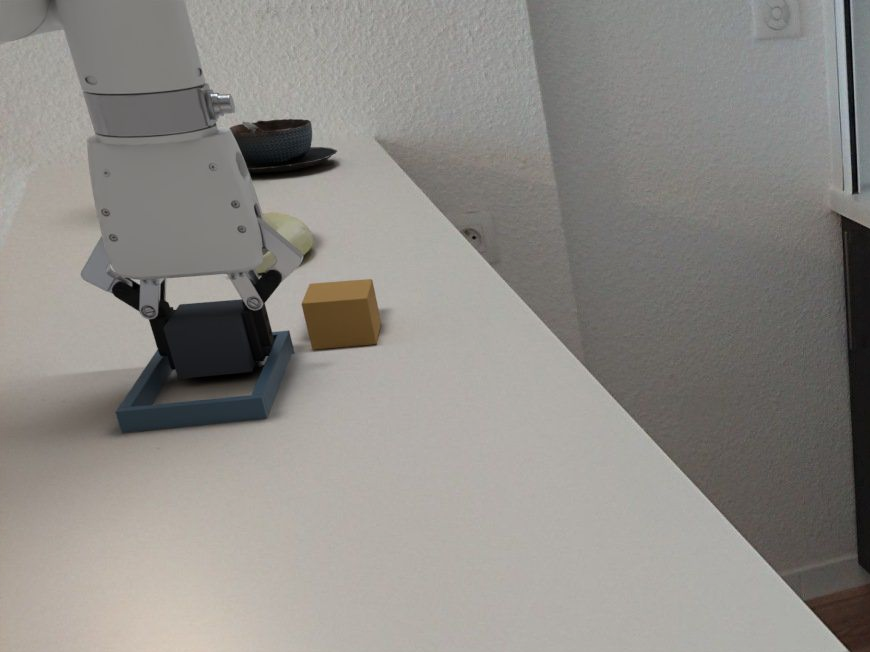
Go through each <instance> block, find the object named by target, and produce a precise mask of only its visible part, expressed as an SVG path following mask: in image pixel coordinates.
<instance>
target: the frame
mask: <svg viewBox="0 0 870 652" xmlns="http://www.w3.org/2000/svg"><path fill="white" fill-rule="evenodd" d="M272 333H273V338H274V345H273V346H270V347H268V352H267V354H266V357H267V358H266V359H265V362H264V365H263V367H262V369H261V371H260V374H259V375H258V378H257V381H256V382H255V385H254V387H253V390H252V393H251V394H248V395H240V396H238V395H237V396H229V397H219V398H207V399H198V400H187V401H176V402H166V403H156V404H153V403H154V402H155V400H156V398H157V397H158V395H159V393H160V392H161V390H162V388H163V387H164V385H165V383H166V382H167V380H168V378H169V377H170V375H171V374H172V372H173V370H172V369H171V367H170V364H169V360H168V357H167V356H160V354H159V352H158V349H157V350H156V351H155V352H154V354H153V355H152V357H151V358H150V360H149V362H148V363H147V364H146V366H145V368H143V371H142V372H141V373H140V375H139V376H138V378H137V379H136V381H135V382H134V383H133V385H132V387H131V388H130V389H129V392H128V393H127V395H126V396H125V397H124V399H123V400H122V402H121V403H120V405H119V406H118V407H117V409H116V410H115V412H114V413H115V415H116V419H117V422H118V426H119V428H120V431H121V433H122V434H127V433H136V432H137V433H138V432H145V431H156V430H166V429H176V428H187V427H196V426H206V425H215V424H226V423H236V422H244V421H253V420H254V421H257V420H263V419H268V417H269V414H270V412H271V409H272V406H273V404H274V401H275V399H276V396H277V393H278V392H279V389H280V386H281V383H282V381H283V378H284V375H285V374H286V370H287V367H288V365H289V363H290V360H291V358H292V356H293V355H295V348H294V345H293V340H292V336H291V332H290V330H280V331H272Z"/></svg>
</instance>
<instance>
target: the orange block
mask: <svg viewBox="0 0 870 652" xmlns="http://www.w3.org/2000/svg"><path fill="white" fill-rule="evenodd" d="M375 290H376V289H375V286H374V281H373V279H372V278H367V279H366V278H365V279H354V280H341V281H340V280H338V281H328V282H313V283H309V284H308V287H307V289H306V292H305V294H304V297H303V299H302V302H301V308H302V312H303V316H304V320H305V325H306V329H307V334H308V337H309V342H310V346H311V350H314V351H316V350H325V349H337V348H347V347H360V346H370V345H377V343H378V339H379V336H380V330H381V325H382V320H381V319H382V318H381V315H380V310H379V306H378V300H377V295H376V291H375Z"/></svg>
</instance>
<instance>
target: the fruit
mask: <svg viewBox="0 0 870 652" xmlns="http://www.w3.org/2000/svg"><path fill="white" fill-rule="evenodd" d="M263 217H264V220H265V222H266V223H267V224H268V225H269V226H271V227H272V228H273V229H274V230H275V231H277V232H278V233H279V234H280V235H281V236H283V237H284V238H285V239H286V240H287V241H289V242H290V243H291V244H292V245H293V246H295V247H296V248H297V249H298V250H299V251H301V253H302V254H303V256H305V255H306V254H307V253H308V252H309V251H310V250H311V248H312V246H313V244H314V236H313V234H312V231H311V230H310V228H309V226H307V224H306V223H305V222H303V221H302V220H301V219H299V218H298V217H295V216H293V215H290V214H286V213H280V212H276V211H275V212H274V211H273V212H266V213H263ZM275 261H276V257H275V256H274V255H273V254H272V253H271V252H270V251H268V252H267V253H266V254H265V255H263V261H262V263H261V264H260V265H259V266H258V267H256V268H254V269H255V271H256V273H257V274H258V275H259V274H264V273H265V271H266V270H267V269H268V268H269V267H270V266H272V265H273V264H274V262H275Z"/></svg>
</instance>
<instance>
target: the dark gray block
mask: <svg viewBox="0 0 870 652" xmlns="http://www.w3.org/2000/svg"><path fill="white" fill-rule="evenodd" d="M242 302H243V300H242V298H241V299H229V300H217V301H206V302H205V301H204V302H191V303H180V304H178V306H177V308H176V309H175V310H176V311H175V312H174V314H173V315H172V317H171V318H170V320H169V321H168V322H167V323H166V325H165V326H164V328H163V329H164V332H165V335H166V339H167V342H168V345H169V349H170V352H171V356H172V359H173V362H174V366H175V369H174V370H175V371H176V376H177V379H178V380H182V379H193V378H202V377H213V376H214V377H215V376H223V375H225V376H226V375H235V374H244V373H252V372H253V370H254V368H255V366H256V364H257V362H256V361H255V360H254V359H253V355H252V352H251V348H250V344H249V340H248V337H247V333H246V329H245V325H244V322H243V318H242V315H241V311H242V310H243V304H242Z"/></svg>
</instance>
